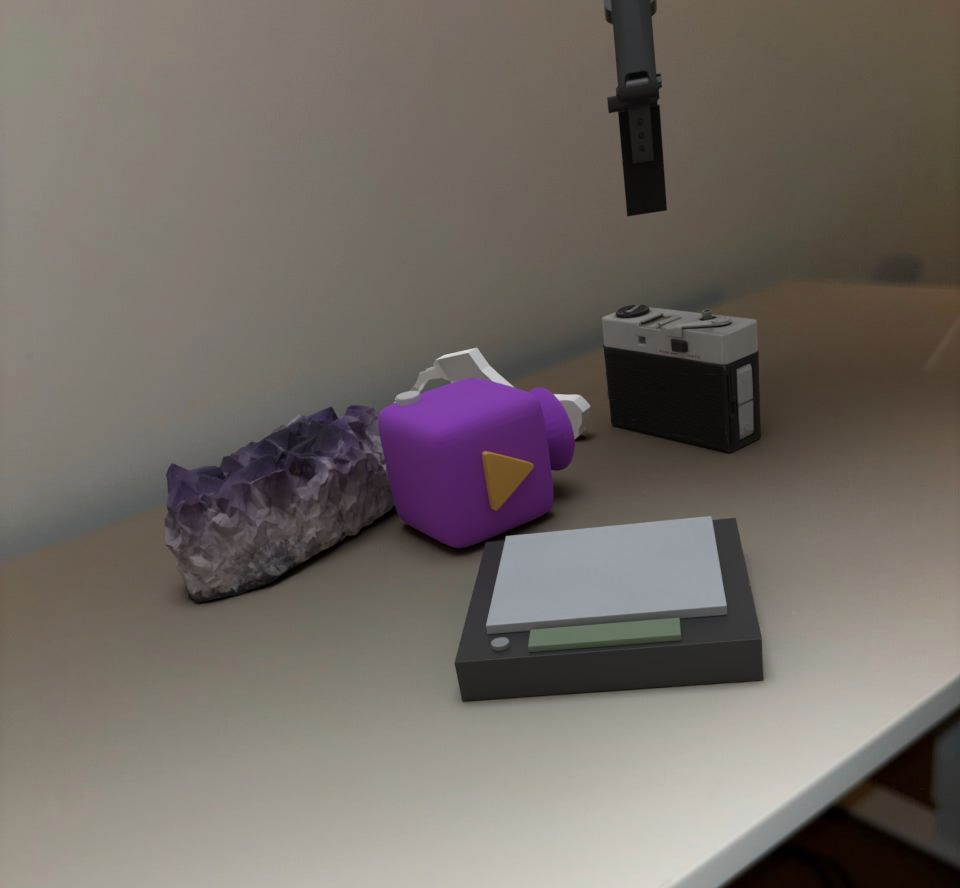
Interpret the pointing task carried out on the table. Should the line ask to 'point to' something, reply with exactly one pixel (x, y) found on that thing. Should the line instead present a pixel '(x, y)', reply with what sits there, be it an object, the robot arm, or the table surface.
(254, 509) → the geode
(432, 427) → the toy camera
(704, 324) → the camera
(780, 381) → the table surface
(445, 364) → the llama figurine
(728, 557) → the scale
